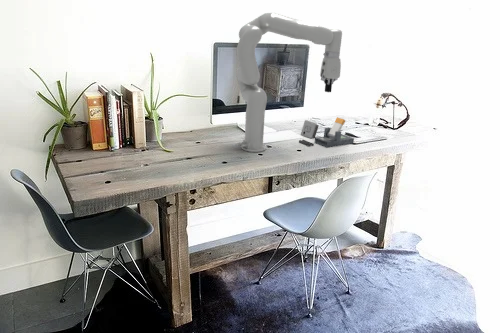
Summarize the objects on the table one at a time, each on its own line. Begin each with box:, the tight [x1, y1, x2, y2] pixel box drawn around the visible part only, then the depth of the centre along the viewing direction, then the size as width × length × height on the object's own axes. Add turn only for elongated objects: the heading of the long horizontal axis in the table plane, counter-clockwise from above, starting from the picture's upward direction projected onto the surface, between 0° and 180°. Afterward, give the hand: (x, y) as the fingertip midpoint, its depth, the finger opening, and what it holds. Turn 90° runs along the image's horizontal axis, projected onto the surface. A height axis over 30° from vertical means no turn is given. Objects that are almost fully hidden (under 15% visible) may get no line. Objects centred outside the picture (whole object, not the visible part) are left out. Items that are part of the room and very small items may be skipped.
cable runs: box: [298, 139, 315, 147], centre depth 211 cm, size 4×9×1 cm, turn 32°
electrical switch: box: [300, 119, 320, 139], centre depth 225 cm, size 9×5×9 cm, turn 35°
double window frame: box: [313, 127, 355, 149], centre depth 214 cm, size 20×10×8 cm, turn 122°
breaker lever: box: [327, 117, 346, 139], centre depth 212 cm, size 2×6×12 cm, turn 34°
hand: (327, 91), depth 201 cm, fingers closed
